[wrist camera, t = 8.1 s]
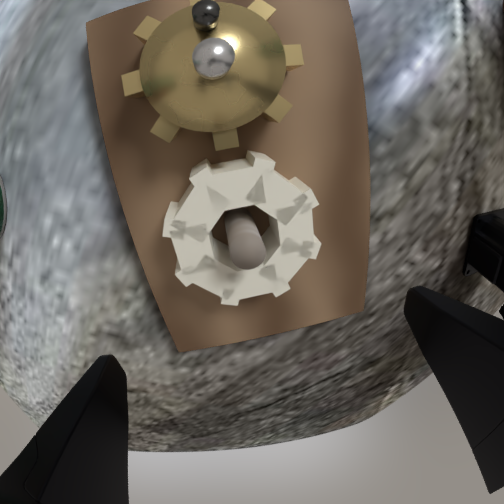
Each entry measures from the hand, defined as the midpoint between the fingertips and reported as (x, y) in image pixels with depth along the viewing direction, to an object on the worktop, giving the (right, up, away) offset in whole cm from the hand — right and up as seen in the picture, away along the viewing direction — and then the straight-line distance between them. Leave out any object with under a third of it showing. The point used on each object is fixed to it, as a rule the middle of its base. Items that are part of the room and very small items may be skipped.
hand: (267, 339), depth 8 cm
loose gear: (-1, +4, +8) cm, 9 cm away
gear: (-2, +11, +4) cm, 12 cm away
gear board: (-1, +7, +8) cm, 11 cm away
